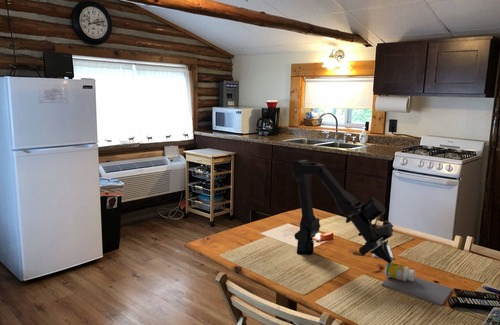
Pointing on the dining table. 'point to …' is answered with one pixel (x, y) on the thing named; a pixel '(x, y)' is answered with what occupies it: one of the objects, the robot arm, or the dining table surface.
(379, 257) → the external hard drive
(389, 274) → the supplement bottle
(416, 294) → the mat
